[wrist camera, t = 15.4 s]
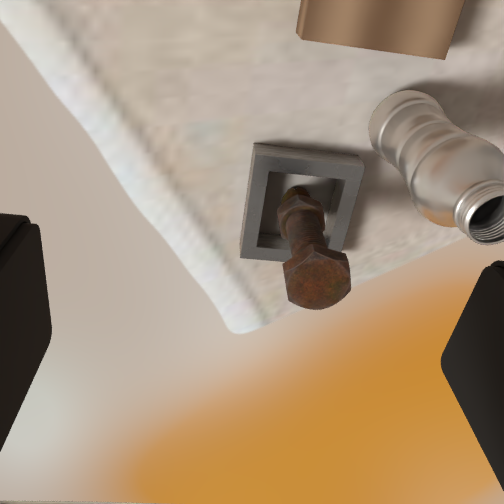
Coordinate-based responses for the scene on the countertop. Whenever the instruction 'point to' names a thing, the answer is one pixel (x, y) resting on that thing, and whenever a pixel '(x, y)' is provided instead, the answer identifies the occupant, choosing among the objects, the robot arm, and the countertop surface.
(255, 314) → the countertop surface
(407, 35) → the wooden block with hole
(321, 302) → the bolt
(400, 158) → the plastic bottle
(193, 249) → the countertop surface
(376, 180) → the countertop surface
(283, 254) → the frame
